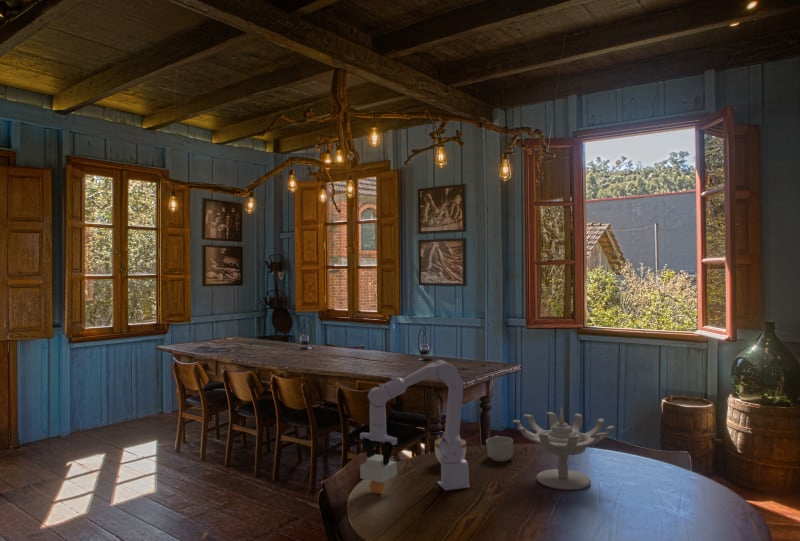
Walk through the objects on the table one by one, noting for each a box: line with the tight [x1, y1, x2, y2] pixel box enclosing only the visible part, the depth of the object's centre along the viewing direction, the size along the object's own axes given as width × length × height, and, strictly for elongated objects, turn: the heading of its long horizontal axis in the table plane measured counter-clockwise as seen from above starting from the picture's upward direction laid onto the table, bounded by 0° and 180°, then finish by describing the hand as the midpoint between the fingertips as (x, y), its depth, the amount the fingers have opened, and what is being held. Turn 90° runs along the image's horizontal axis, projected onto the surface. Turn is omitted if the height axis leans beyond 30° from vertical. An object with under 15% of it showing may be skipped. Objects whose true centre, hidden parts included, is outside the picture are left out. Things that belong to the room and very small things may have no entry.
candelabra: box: [512, 406, 615, 491], centre depth 197 cm, size 34×35×27 cm
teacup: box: [485, 435, 514, 463], centre depth 225 cm, size 14×11×8 cm
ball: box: [369, 480, 385, 495], centre depth 189 cm, size 5×5×5 cm
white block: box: [359, 454, 398, 483], centre depth 190 cm, size 9×9×6 cm
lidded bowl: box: [433, 437, 467, 464], centre depth 218 cm, size 13×13×11 cm
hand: (378, 462), depth 190 cm, fingers closed on white block, 6 cm apart
